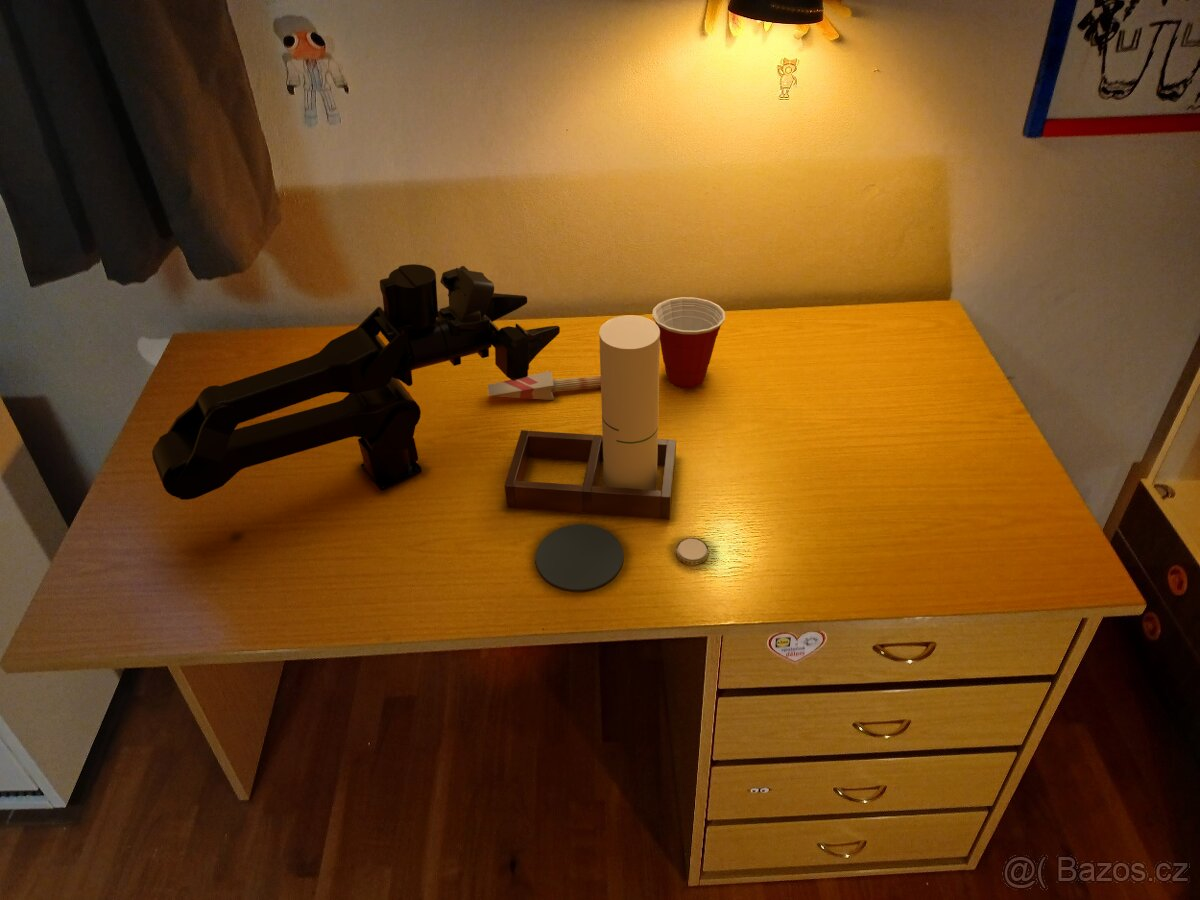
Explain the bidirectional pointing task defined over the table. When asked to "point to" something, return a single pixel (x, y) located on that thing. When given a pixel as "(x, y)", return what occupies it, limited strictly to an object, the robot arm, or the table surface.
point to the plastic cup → (687, 338)
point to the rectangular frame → (589, 493)
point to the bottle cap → (692, 551)
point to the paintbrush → (541, 386)
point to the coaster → (579, 557)
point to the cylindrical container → (630, 401)
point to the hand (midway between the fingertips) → (542, 314)
